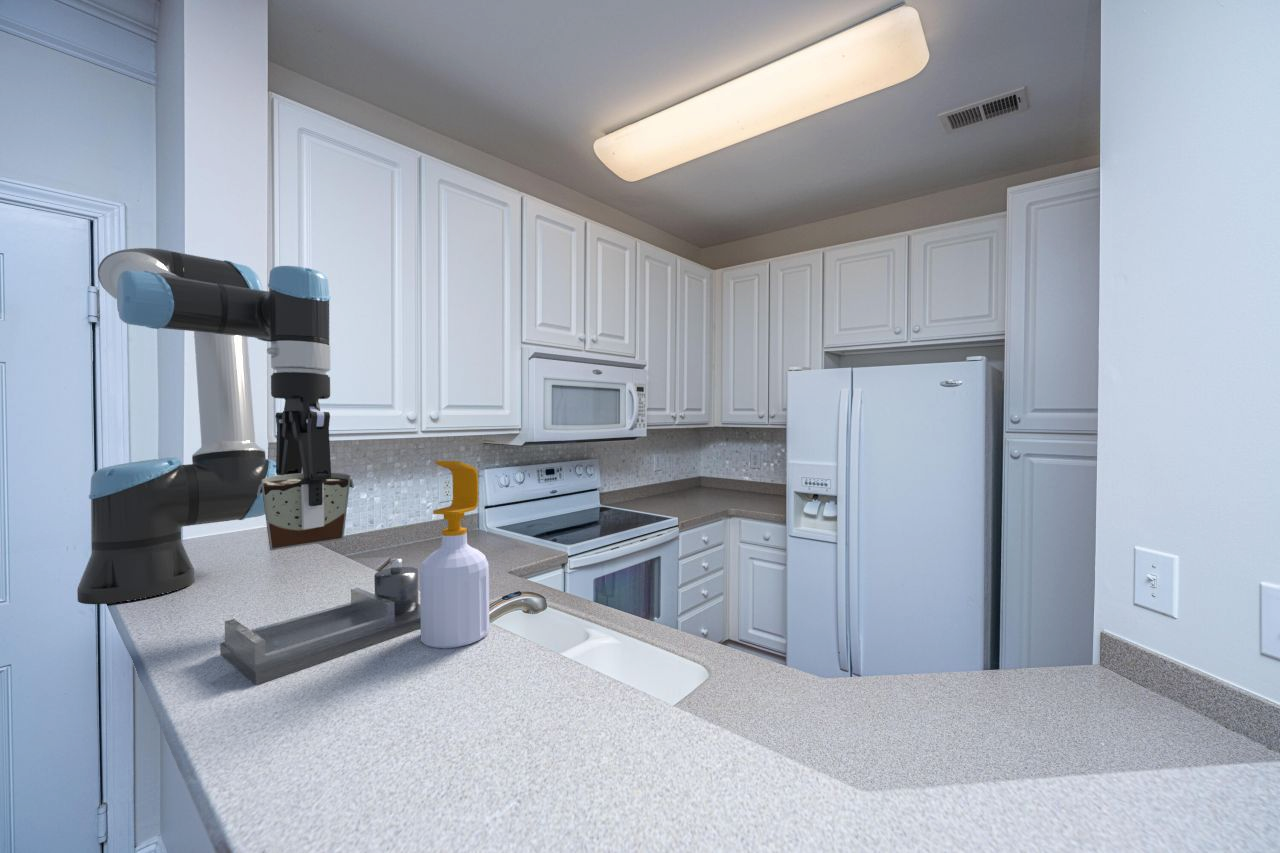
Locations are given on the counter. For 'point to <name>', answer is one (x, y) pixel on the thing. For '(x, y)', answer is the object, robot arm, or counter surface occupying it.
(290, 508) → the food container
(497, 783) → the counter surface
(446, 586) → the soap bottle
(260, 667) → the tray
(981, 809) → the counter surface
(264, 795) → the counter surface
